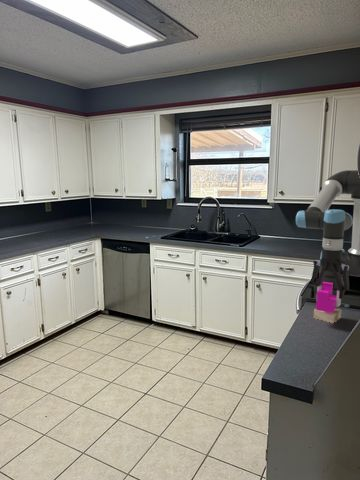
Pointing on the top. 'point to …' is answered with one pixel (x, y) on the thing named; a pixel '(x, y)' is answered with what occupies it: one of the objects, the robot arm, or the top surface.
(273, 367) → the top surface
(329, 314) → the riser
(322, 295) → the toy block
